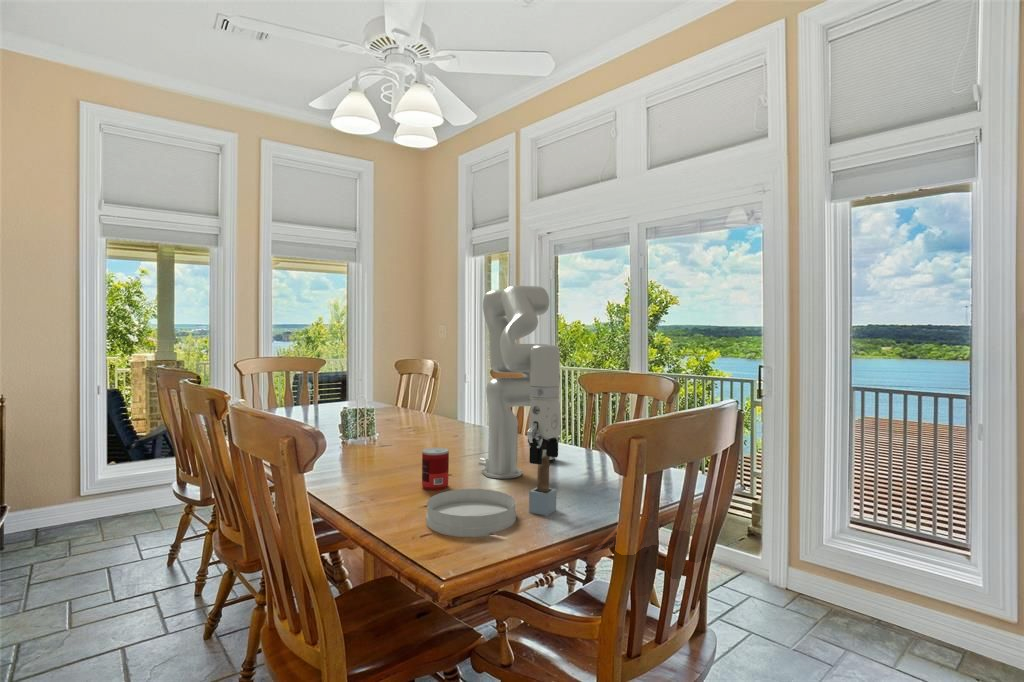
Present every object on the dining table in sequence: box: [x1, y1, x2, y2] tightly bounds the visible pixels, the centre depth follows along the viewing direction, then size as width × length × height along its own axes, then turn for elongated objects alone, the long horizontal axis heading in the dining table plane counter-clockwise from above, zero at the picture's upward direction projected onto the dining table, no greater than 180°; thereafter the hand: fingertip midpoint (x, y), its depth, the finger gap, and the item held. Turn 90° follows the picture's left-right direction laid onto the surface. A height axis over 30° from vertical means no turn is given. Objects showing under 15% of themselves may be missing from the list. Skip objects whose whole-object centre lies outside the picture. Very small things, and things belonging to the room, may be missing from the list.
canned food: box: [421, 447, 450, 491], centre depth 164 cm, size 8×8×11 cm
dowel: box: [536, 456, 550, 493], centre depth 141 cm, size 3×3×14 cm
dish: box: [425, 488, 517, 538], centre depth 135 cm, size 22×22×5 cm
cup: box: [528, 486, 557, 517], centre depth 141 cm, size 5×5×6 cm
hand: (544, 460), depth 140 cm, fingers open, 9 cm apart
